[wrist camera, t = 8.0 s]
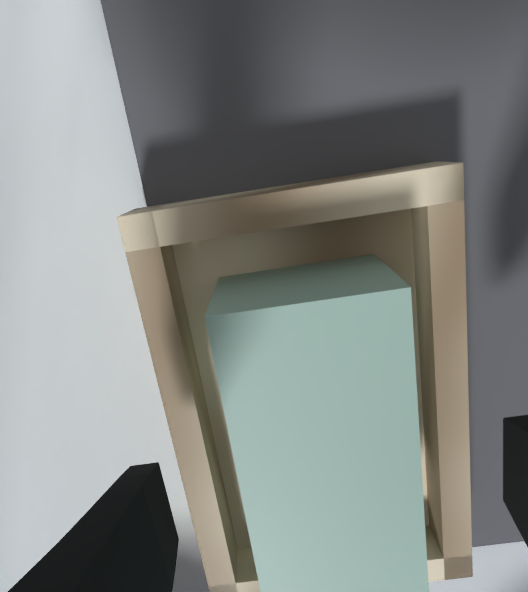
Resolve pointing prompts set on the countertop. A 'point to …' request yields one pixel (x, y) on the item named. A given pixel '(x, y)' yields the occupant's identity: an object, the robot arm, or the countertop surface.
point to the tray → (292, 252)
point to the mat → (354, 141)
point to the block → (324, 424)
